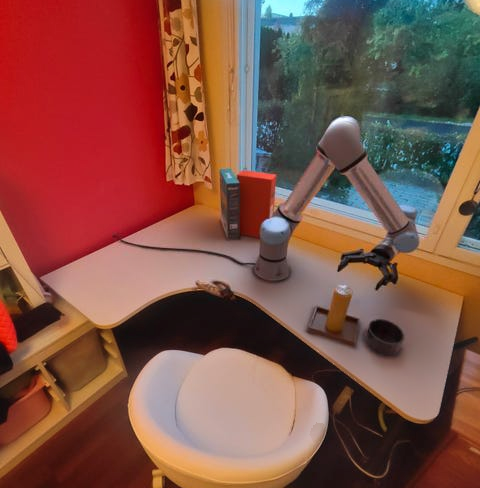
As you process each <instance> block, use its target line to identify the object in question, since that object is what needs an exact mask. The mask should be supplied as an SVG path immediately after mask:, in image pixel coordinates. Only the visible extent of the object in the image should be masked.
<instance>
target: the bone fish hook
mask: <svg viewBox="0 0 480 488" xmlns="http://www.w3.org/2000/svg"><path fill="white" fill-rule="evenodd" d="M212 283H214V284H218V285H221V286H222V287H224V289H221V288H219V287H218V286H215V285H213V284H210V283H207V282H204V281H201V280H198V279H197V280H196V281H195V285H196V286H197V287H198V288H199V289H201V290H202V291H203V292H206V293H209V294H210V295H213V296H216V297H219V298H221V299H225V300H229V301H234V300H236V297H235V294H234V293H235V292H234V291H233V290H232V289H231V286H230V285H229V284H228V283H227V282H225V281H223V280H214V281H212Z"/></svg>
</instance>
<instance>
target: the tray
mask: <svg viewBox="0 0 480 488" xmlns="http://www.w3.org/2000/svg"><path fill="white" fill-rule="evenodd" d="M328 312H329V308H326V307H324V306H319V305H315V307H314V310H313V313H312V315H311V319H310V321H309V325H308V327H307V332H309V333H312V334H314V335H318V336H321V337H323V338H326V339H329V340H332V341H334V342H338V343H341V344H343V345H347V346H350V347H353V348H354V347H355V345H356V343H357V337H358V330H359V326H360V318H359V317H356V316H352V315H349V314H346V317H345V321H344V324H343V328H342V330H341V331H339V332H333V331H330V330H329V329H328V328H327V327H326V320H327V316H328Z"/></svg>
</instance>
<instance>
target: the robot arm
mask: <svg viewBox="0 0 480 488" xmlns="http://www.w3.org/2000/svg"><path fill="white" fill-rule="evenodd" d="M361 137H362V127H361V125H360V123H359V122H358V121H357V120H356V119H355V118H353V117H352V116H339V117H337V118H335V119H334V120H332V121H331V123H330V124H329V126H328V127H327V129H326V131H325V132H324V134H323V136H322V137H321V139H320V140H319V142H318V144H317V145H316V147H315V149H316V154H315V156H314V157H313V159H312V160H311V161H310V163H309V165H308V167H307V168H306V169H305V171H304V173H303V174H302V176H301V178H300V179H299V180H298V182H297V184H296V185H294V186H295V187H294V188H293V189H292V191H291V193H290V194H289V195H288V197H287V199H286V200H285V201H284V202H281V203H279V204H278V206H277V207H276V209H275V211H274V213H273V215H272V217H271V218H270V219H266V220H265V221H264V222H263V223H262V225H261V228H260V238H259V251H258V252H259V253H258V256H257V260H256V261H255V262H241V261H239V260H237V259H236V258H234V257H232V256H229V255H227V254H223V253H219V252H216V251H215V252H214V251H209V250H202V249H191V248H176V247H160V246H150V245H144V244H137V243H133V242H129V241H126V240H123V239H122V238H120V236H118V235H117V234H114V235H112V238H116V239H117V240H119V242H121V243H124V244H127V245H131V246H135V247H139V248H146V249H154V250H166V251H183V252H195V253H197V252H199V253H205V254H211V255H216V256H221V257H224V258H228V259H230V260H232V261H234V262H236V263H237V264H239V265H243V266H248V265H249V266H254V267H253V271H254V274H255V276H256V277H257V278H259V279H261V280H263V281H265V282H271V283H274V282H275V283H277V282H281V281H284V280H286V279H287V278H288V276H289V274H290V266H289V260H288V258H287V257H288V250H289V249H288V248H289V243H290V240H291V238H292V236H293V234H294V231H295V230H296V229H297V228H298V226H299V224H300V223H301V222H302V220H303V218H304V215H303V213H304V211H305V210H306V209H307V207H308V206H309V204H310V203H311V202H312V200H313V199H314V197H315V196H316V195H317V194H318V192H319V191H320V190H321V188H322V186H323V185H324V184H325V182H326V181H327V180H328V178H329V177H330V175H331V174H332V173H333V172H334V170H335V169H337V171H338V172H339V174H340V175H344V176H345V177H346V178H347V179H348V181H349V182H350V184H351V185H352V186H353V187H354V189H355V190H356V192H357V193H358V195H359V196H360V197H361V198H362V200H363V201H364V203H365V204H366V206H367V207H368V208H369V209H370V211H371V212H372V214H373V215H374V216H375V218H376V220H378V222H379V223H380V225H381V226H382V227H383V229H384V230H385V231H386V234H385V237H384V239H383V240H382V241H381V242H379V243H378V244H376V245H375V247H373V248H372V249H371V250H370V251H368V252H366V251H365V250H364V248H360V249H358V250H352V251H347V252H342V253H341V256H340V262H339V264H338V266H337V270H336V272H337V273H340V272H341V271H342V270H344V269H345V268H346V267H347V266H348V265H349V264H360V263H361V264H363V265H365V264H367V265H370V266H372V267H375V268H378V271H380V272H381V274H382V277H381V278H380V279H379V280H378V282H377V283H376V285H375V288H374V291H377V292H378V291H379V290H380V289H381V287H382V286H384V287H386V286H388V285H389V283H390V284H391V283H392V284H393V285H397V283H398V280H399V274H398V273H399V272H398V264H399V263H398V262H393V263H392V261H393V260H394V259H395V258H396V257H397V256H398V255H399V254H400V253H402V254H411V253H413V252H415V251H416V250H417V249H418V248H419V246H420V236H419V233H418V230H417V226H416V223H415V222H416V219H417V215H418V213H419V212H418V209H417V208H416V207H414V206H412V205H408V204H400V205H399V204H398V203H397V201H396V200H395V198H394V197H393V195H392V193H390V190H389V189H388V188H387V187H386V185H385V183H384V182H383V181H382V179H381V178H380V176H379V175H378V174H377V172H376V171H375V169H374V168H373V166H372V164H371V163H370V162H369V160H368V156H369V154H368V152H367V151H366V149H365V148H364V146H363V143H362V140H361ZM388 267H389V268H388Z"/></svg>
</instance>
